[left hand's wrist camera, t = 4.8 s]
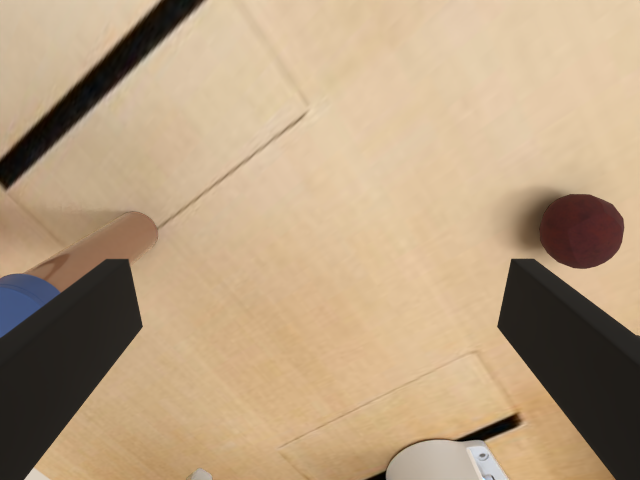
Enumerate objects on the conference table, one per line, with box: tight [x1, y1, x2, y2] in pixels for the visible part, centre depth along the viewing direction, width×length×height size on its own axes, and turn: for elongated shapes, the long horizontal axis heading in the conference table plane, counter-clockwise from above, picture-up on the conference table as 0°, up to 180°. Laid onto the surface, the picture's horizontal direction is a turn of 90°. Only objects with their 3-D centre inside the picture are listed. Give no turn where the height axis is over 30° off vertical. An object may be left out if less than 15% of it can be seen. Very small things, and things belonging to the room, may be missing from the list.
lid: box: [0, 274, 61, 338], centre depth 25 cm, size 6×6×2 cm
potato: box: [540, 194, 624, 269], centre depth 38 cm, size 7×8×7 cm
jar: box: [22, 212, 158, 292], centre depth 33 cm, size 5×5×18 cm
